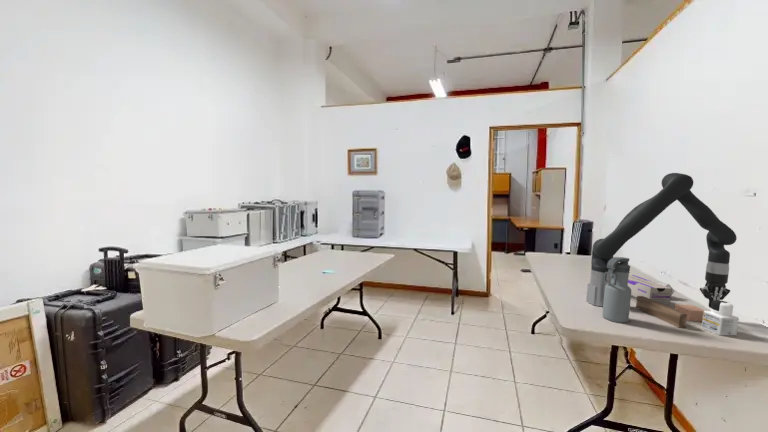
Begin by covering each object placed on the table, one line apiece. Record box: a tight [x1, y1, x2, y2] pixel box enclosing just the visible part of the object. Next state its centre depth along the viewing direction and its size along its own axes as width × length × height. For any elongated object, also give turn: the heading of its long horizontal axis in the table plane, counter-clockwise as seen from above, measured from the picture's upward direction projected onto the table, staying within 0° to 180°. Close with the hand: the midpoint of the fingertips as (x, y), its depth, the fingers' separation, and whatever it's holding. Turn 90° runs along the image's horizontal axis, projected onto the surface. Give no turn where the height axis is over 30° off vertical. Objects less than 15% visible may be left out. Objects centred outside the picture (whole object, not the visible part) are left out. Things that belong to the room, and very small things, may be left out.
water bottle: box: [601, 256, 632, 324], centre depth 153 cm, size 10×10×28 cm
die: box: [657, 282, 675, 297], centre depth 189 cm, size 8×9×10 cm
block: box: [674, 303, 707, 322], centre depth 159 cm, size 8×8×5 cm
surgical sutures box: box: [628, 274, 673, 307], centre depth 183 cm, size 25×11×11 cm, turn 1°
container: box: [701, 300, 740, 336], centre depth 144 cm, size 8×8×13 cm
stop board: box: [635, 296, 687, 329], centre depth 159 cm, size 3×24×6 cm, turn 2°
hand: (712, 308), depth 159 cm, fingers closed
